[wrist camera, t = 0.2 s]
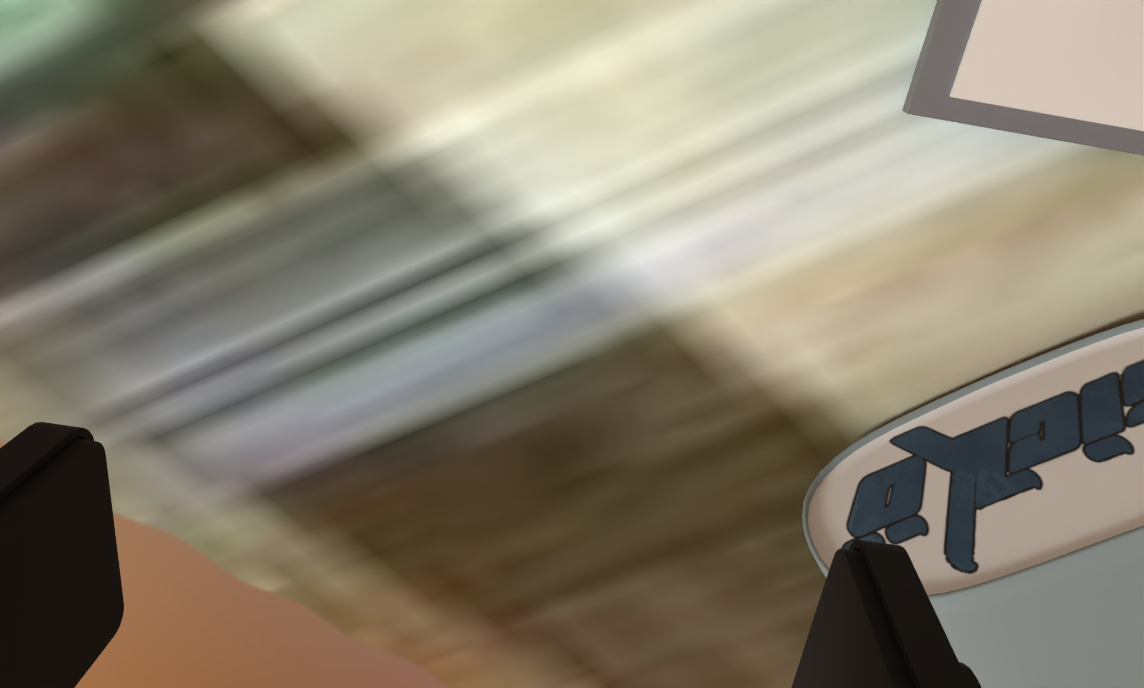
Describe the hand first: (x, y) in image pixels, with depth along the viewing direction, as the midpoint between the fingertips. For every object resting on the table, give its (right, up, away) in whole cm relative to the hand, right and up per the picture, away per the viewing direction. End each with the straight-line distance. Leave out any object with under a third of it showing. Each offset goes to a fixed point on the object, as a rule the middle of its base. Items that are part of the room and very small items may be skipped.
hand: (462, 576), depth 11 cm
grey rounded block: (+27, -6, +35) cm, 45 cm away
